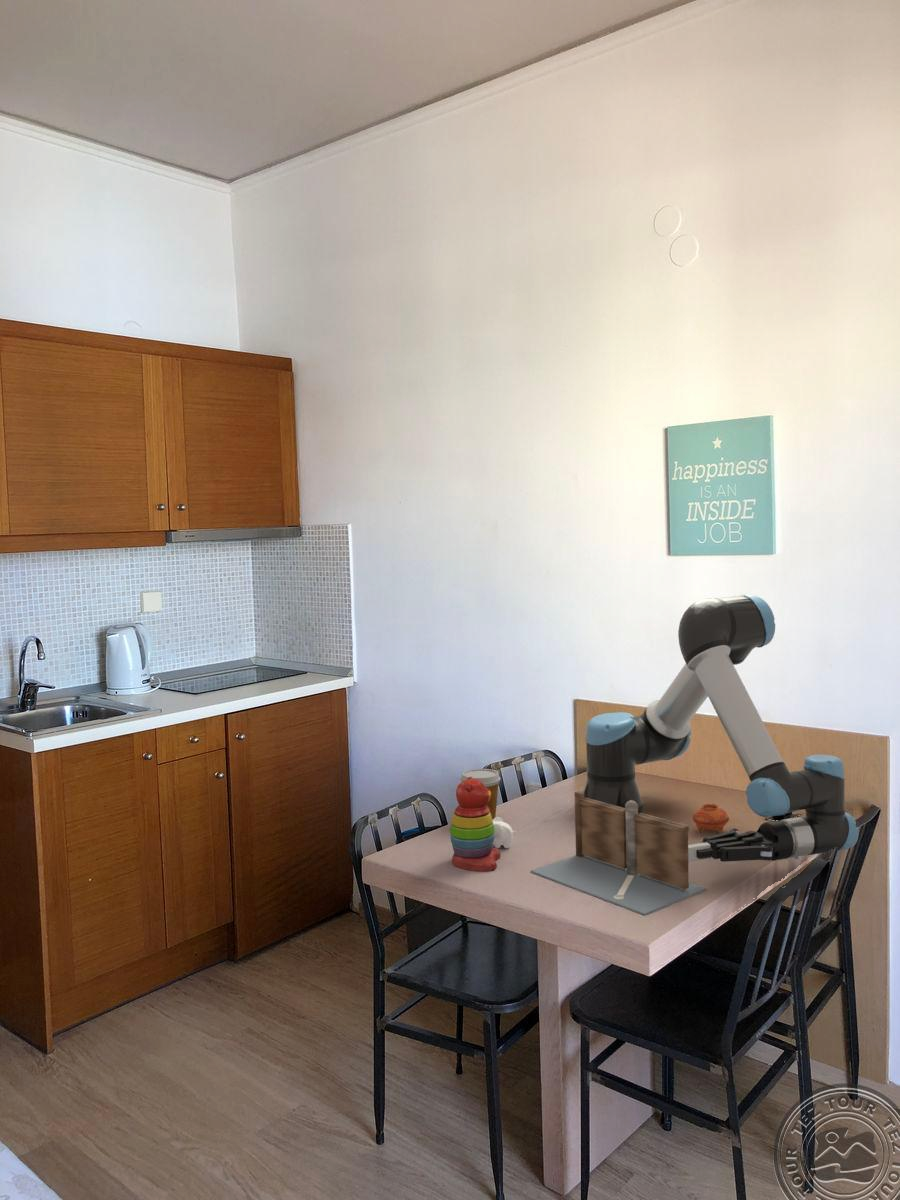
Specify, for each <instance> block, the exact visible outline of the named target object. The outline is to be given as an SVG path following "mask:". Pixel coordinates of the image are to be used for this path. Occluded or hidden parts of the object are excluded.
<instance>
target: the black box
mask: <svg viewBox="0 0 900 1200" xmlns="http://www.w3.org/2000/svg"><path fill="white" fill-rule="evenodd" d="M797 813H798V812H794V813H792V812H790V813H786V814H784V815H780V816H771V817H768V819H771V820H775V821H776V820H778V821H780V820H783V819H790V818H794V817H796V816H798V815H800V816H802V815H801V814H802V813H799V814H797ZM798 817H799V816H798ZM764 818H765V819H767V818H766V817H764Z"/></svg>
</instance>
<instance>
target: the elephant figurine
mask: <svg viewBox="0 0 900 1200" xmlns="http://www.w3.org/2000/svg"><path fill="white" fill-rule="evenodd" d="M492 821H493V824H494V830H495V831H494V842H493V846H494V848H496V849H501V847H502V845H503V848H504V849H509V848H511V845H512V842H513V834H514V833H515V832H517V831H518V829H516V830H513V828H512V827H511V826H510V824H508V823H507V822H505V821H504V820H503V818H502V817H501V816H500V817H499V816H495V818H494V819H493V820H492Z"/></svg>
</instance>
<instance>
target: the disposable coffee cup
mask: <svg viewBox="0 0 900 1200" xmlns="http://www.w3.org/2000/svg"><path fill="white" fill-rule="evenodd" d="M468 777H472V779H477V780H479V781H481V782H482V783H483V784H484V786H485V787H486V788H487V789H488V790H489V791H490V792H491V794H492V796H491V798H490V801H489V802H488V803H487V804H486V806H488V808H489V809H490V813H491V816H492V820H493V819H494V818H496V817H497V816H496V814H497V805H498V796H499V795H498V793H499V785H500V781H501V777H500V775H499V771H497V770H495V769H489V768H473V769H468V770H465V771H463V772H462V774H461V777H460V782H462V781H464V780H467V779H468Z"/></svg>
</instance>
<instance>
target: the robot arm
mask: <svg viewBox="0 0 900 1200" xmlns="http://www.w3.org/2000/svg"><path fill="white" fill-rule="evenodd" d="M775 619H776V618H775V615H774V612H773V609H772V608H771V607H770V605H769V603H768V602H767V601H766V600H764V599H763V598H762V597H760V596H758V595H757V596H756V595H747V594H741V595H737V596H736V595H734V596H725V597H724V596H723V597H716V598H715V597H714V598H703V599H699V600H697V601H695V602H693V603H692V604H690V606H689V607H688V608H687V609H686V610H685V612H683V614H682V616H681V619H680V621H679V625H678V633H677V636H678V644H679V649H680V652H681V653H680V654H681V655H682V657H683V660H684V662H685V663H684V665H683V666H682V668H681V669H680V671H679V672H678V674H677V675H676V676H675V678H674V679H673V681H672V682H671V684H670V685H669V686H668V687H667V689H666V691H665V692H664V693H663V694H662V696H661V697H660V698H659V699H656V700H653V701H651V702H650V703H649V704H648V706H647V707H646V708H645V709H644V711H643V712H642V714H639V715H638V716H634V715H633V714H631V713H629V712H624V711H623V712H622V711H621V712H620V711H618V712H607V713H606V712H605V713H603V714H602V713H601V714H598V715H596V716H593V717H592V718H591V719H589V720H588V722H587V724H586V728H585V729H586V731H585V732H586V733H585V742H586V743H585V744H586V782H585V786H584V790H583V791H582V792H584V798H589V799H593V800H597V801H600V802H604V803H607V804H611V805H615V806H618V807H622V808H625V804H626V803H627V802H628V801H630V800H632V801H635V802H636V803H637V804H638V813H643V812H644V802H643V799H642V796H641V793H640V789H639V787H638V784H637V781H636V780H637V779H636V766H637V765H643V764H648V763H653V762H659V761H669V760H672V759H675V758H678V757H680V756H682V755H683V754H684V753H685V752H686V751H687V750H688V748H689V747H690V745H691V744H690V743H691V738H690V736H692V729H691V722H690V721H691V720H692V718H693V717H694V716H695V714H696V713H697V712H698V710H699V709H700V708H701V706H702V705H703V704H704V702H706V699H708V698H709V701H710V702H711V705H712V706H713V709H714V711H715V713H716V714H717V717H718V719H719V721H720V723H721V725H722V727H723V729H724V730H725V732H726V734H727V736H728V739H729V741H730V742H731V745H732V747H733V748H734V751H735V752H736V755H737V756H738V758H739V760H740V763H741V764H742V766H743V768H744V771H745V772H746V774H747V776H748V779H749V781H750V782H749V784H748V785H747V787H746V789H745V790H746V791H745V795H746V798H747V799H746V802H747V805H748V806H749V808H750V809H751V811H753V813H754V814H756V815H757V816H760V817H762V818H766V817H771V816H780V815H784V814H786V813H790V812H794V813H795V812H797V811H803V810H804V811H805V816H798V817H797V818H790V819H783V820H780V821H766V822H763V823H761V824H760V826H759V827H758V829H757V830H756V831H755V830H748V831H746V832H743V833H739V829H738V828H732V829H730V830H729V831H724V832H722V833H720V834H719V833H717V834H713V835H709V836H705V837H702V842H700V843H693V844H688V863H690V862H695V861H696V862H697V861H701V860H708V859H709V860H710V859H711V858H712V860H720V862H723V863H727V862H742V861H743V862H744V861H772V862H774V861H781V860H787V859H792V858H794V859H795V860H796V859H797V860H798V859H800V857H805V856H807V857H808V856H811V855H819V854H826V853H825V852H828V851H829V850H831V849H834V847H837V846H838V850H837V852H840V851H844V850H848V849H851V848H853V847H854V846H855V845H856V844H857V842H858V839H859V834H860V833H859V828H858V827H857V822H856V820H855V818H854V817H853V816H852V815H851V814H850V813H848V812H846V810H845V806H846V805H845V780H846V777H845V766H844V761H843V760H842V759H841V758H840V757H838V756H835V755H829V754H812V755H808V756H806V758H805V759H804V761H803V762H804V763H803V767H802V768H803V769H801V770H796V771H789V769H788V767H787V765H786V763H785V762H784V760H783V758H782V756H781V754H780V752H779V750H778V749H777V747H776V745H775V743H774V741H773V739H772V737H771V735H770V732H769V731H768V729H767V727H766V725H765V723H764V721H763V719H762V717H761V716H760V713H759V712H758V710H757V708H756V705H755V703H754V702H753V699H752V698H751V695H750V694H749V693H748V690H747V688H746V686H745V684H744V683H743V681H742V679H741V677H740V675H739V672H738V670H737V668H736V667H735V666H737V665H740V664H742V663H743V662H744V661H745V660H746V658H747V657H748V656H749V655H750V653H751V652H752V651H753V650H754V649H755V648H758V649H759V648H763V647H765V646H767V645H769V643H771V642H772V640H773V639H774V635H775V633H776V623H775ZM837 852H836V853H837ZM828 853H829V852H828Z"/></svg>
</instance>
